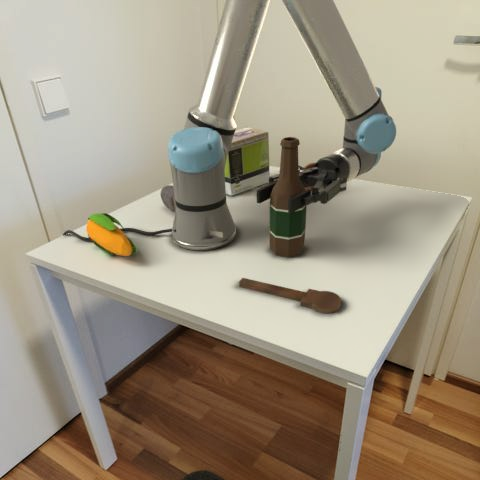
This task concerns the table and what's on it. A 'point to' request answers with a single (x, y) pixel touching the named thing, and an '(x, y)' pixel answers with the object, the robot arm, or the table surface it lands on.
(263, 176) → the tea box
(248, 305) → the table surface
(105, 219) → the corn
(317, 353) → the table surface
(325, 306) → the wooden spoon
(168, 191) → the perforated stone tool
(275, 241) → the beer bottle
